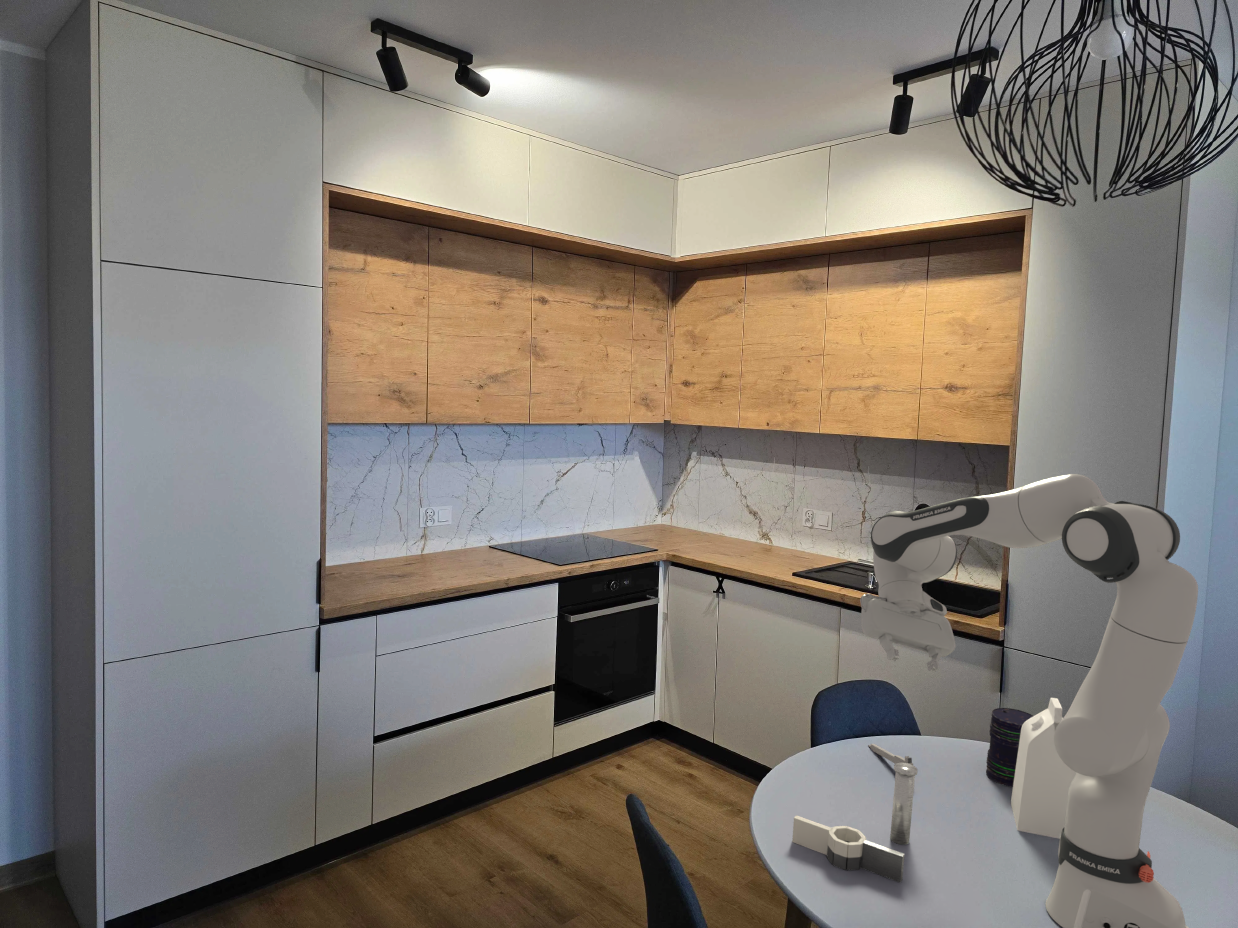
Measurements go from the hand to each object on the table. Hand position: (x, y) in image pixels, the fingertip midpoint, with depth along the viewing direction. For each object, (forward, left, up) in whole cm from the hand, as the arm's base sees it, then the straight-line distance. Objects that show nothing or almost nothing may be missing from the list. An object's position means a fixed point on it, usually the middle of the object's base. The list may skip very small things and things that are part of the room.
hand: (914, 664), depth 165 cm
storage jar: (-12, -43, -36) cm, 57 cm away
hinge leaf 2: (+2, +15, -35) cm, 39 cm away
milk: (-22, -26, -36) cm, 49 cm away
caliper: (+12, -31, -36) cm, 49 cm away
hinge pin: (0, +1, -35) cm, 35 cm away
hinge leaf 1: (+9, +15, -35) cm, 40 cm away
